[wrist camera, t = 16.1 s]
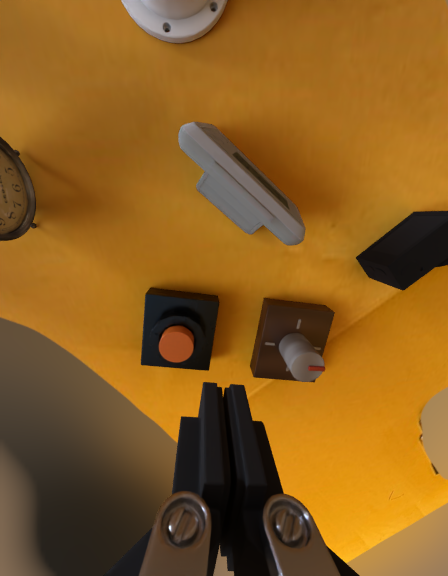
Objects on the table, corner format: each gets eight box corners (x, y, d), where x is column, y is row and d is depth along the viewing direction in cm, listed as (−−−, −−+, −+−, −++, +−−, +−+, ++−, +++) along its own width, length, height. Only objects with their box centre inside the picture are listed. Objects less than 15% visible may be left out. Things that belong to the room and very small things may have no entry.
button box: (150, 287, 36) (141, 298, 31) (218, 295, 37) (220, 307, 32) (145, 354, 39) (137, 373, 34) (208, 359, 40) (209, 379, 35)
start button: (162, 323, 33) (160, 330, 31) (195, 326, 33) (195, 333, 31) (160, 352, 34) (157, 361, 32) (192, 355, 35) (191, 364, 33)
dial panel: (263, 297, 38) (269, 305, 35) (325, 305, 39) (335, 312, 36) (250, 366, 41) (253, 378, 38) (307, 371, 42) (315, 383, 39)
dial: (276, 358, 38) (289, 382, 32) (281, 331, 36) (295, 352, 31) (304, 359, 38) (321, 384, 32) (310, 333, 37) (328, 354, 31)
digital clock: (299, 216, 35) (338, 216, 25) (248, 256, 36) (265, 273, 26) (228, 109, 31) (240, 56, 20) (173, 158, 32) (158, 131, 21)
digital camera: (372, 284, 39) (407, 298, 32) (354, 257, 37) (387, 267, 31) (429, 240, 37) (479, 246, 31) (414, 211, 36) (462, 210, 29)
